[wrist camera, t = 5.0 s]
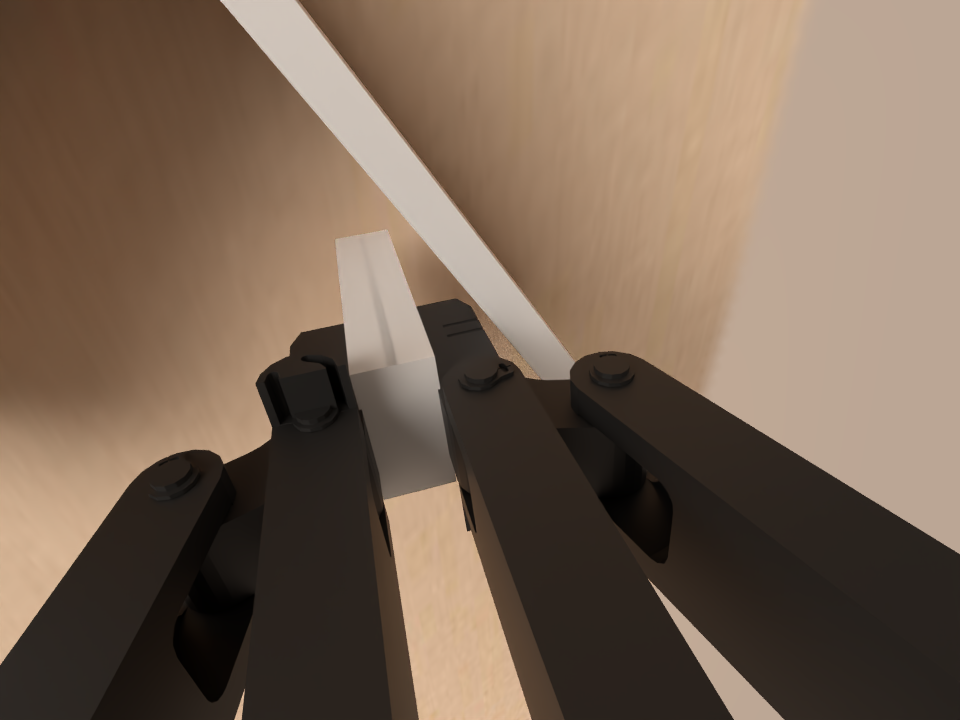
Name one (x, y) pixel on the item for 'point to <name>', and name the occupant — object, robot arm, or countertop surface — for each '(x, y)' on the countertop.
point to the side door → (398, 173)
